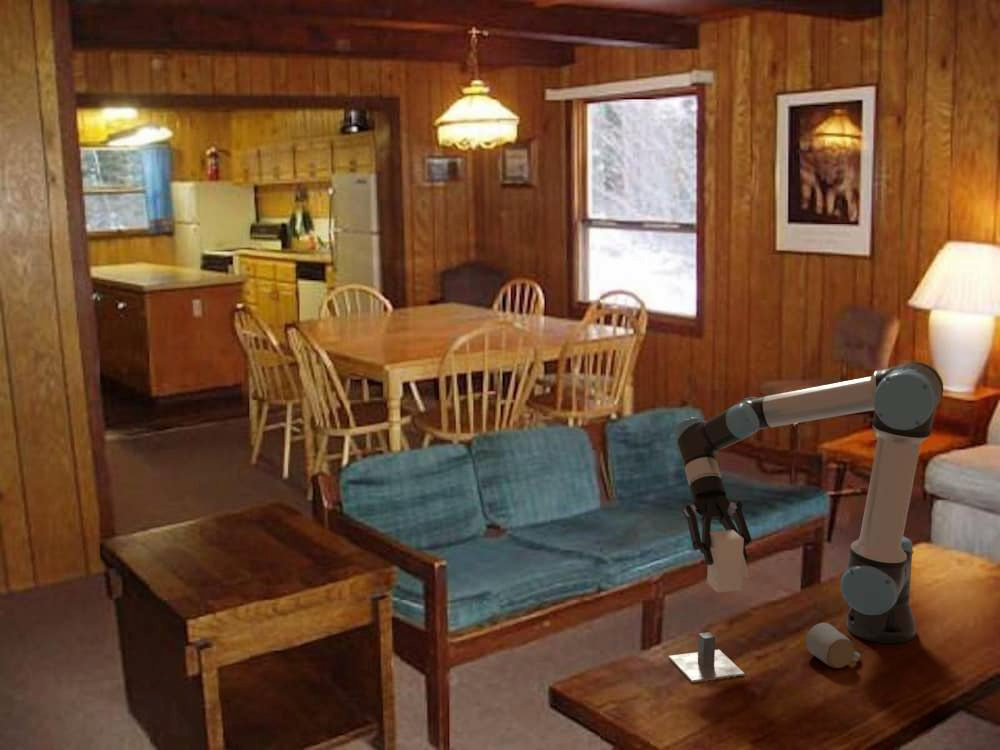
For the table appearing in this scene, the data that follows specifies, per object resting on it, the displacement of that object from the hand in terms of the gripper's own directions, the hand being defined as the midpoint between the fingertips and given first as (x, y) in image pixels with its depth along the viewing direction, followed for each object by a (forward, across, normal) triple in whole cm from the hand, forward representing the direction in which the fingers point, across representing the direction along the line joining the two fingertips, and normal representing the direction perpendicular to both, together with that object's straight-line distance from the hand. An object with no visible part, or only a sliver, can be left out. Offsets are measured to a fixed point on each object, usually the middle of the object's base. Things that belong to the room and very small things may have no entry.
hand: (731, 576), depth 230 cm
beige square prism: (0, 0, -5) cm, 5 cm away
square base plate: (+16, +7, -10) cm, 20 cm away
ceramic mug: (+18, -22, -8) cm, 30 cm away
